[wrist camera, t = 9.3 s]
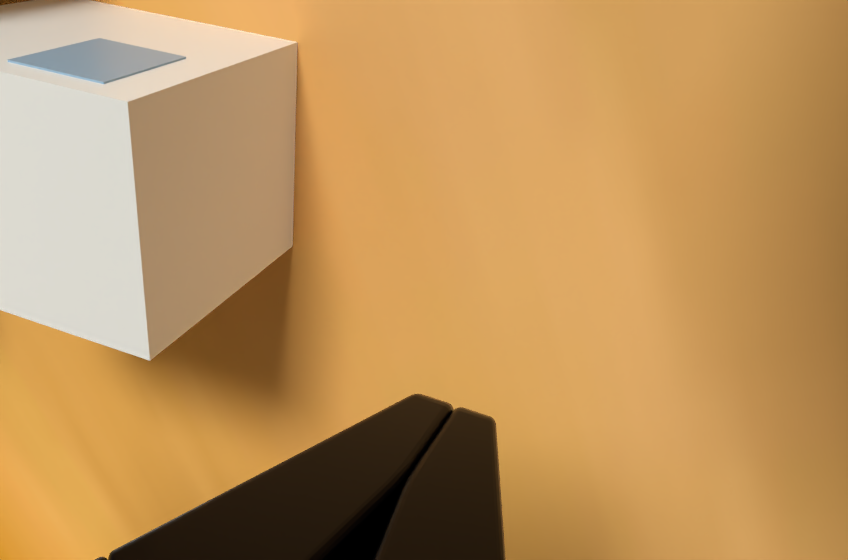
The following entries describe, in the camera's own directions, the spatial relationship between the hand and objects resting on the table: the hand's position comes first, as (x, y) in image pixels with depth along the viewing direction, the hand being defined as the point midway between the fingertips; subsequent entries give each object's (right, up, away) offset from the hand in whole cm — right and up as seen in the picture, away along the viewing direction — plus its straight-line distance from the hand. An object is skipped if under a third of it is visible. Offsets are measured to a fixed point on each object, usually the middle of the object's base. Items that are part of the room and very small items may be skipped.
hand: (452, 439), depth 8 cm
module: (-5, +5, +7) cm, 10 cm away
